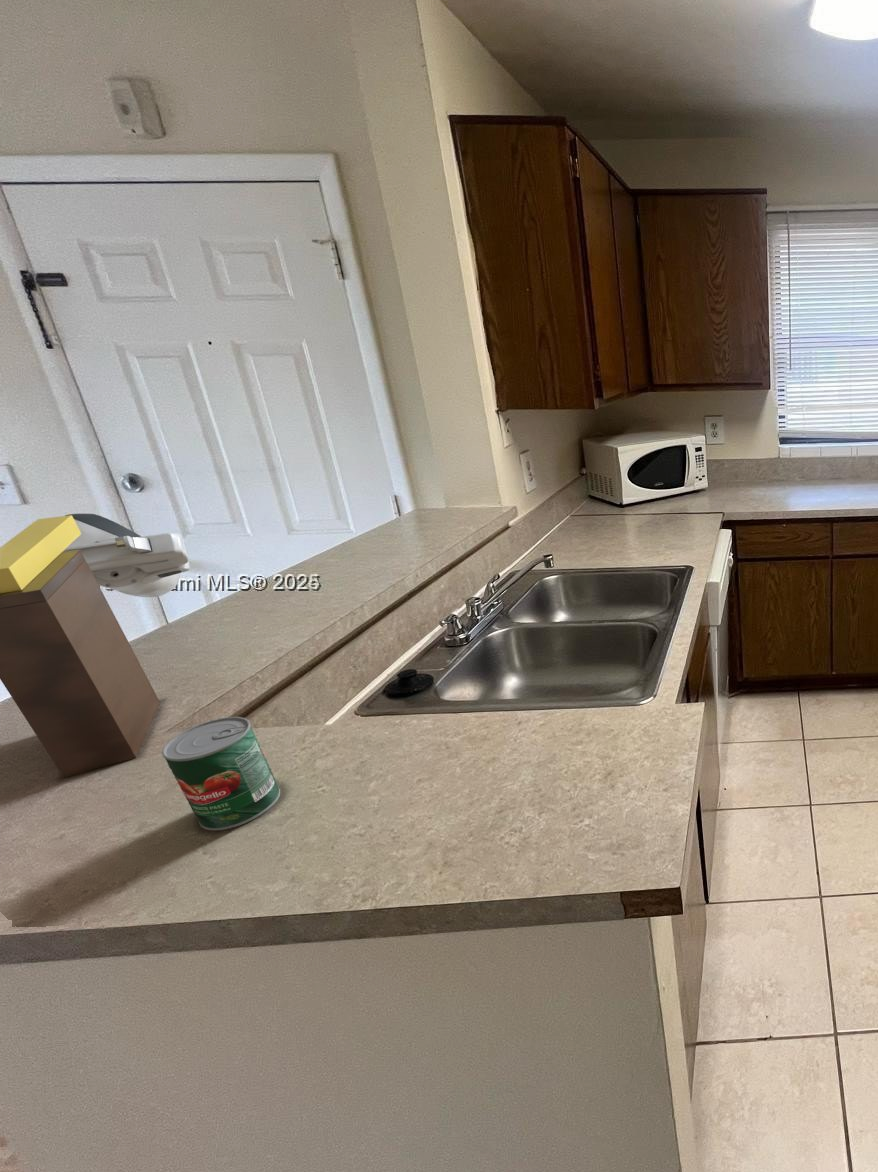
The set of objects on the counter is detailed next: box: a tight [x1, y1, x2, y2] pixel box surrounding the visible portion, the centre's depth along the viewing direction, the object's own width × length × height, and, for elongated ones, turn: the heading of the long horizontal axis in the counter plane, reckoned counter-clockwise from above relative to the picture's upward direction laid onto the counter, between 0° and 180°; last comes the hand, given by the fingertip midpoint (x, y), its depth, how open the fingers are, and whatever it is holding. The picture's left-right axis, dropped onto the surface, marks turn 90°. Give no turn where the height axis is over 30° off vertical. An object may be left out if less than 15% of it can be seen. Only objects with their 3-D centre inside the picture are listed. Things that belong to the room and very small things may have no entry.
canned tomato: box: [161, 716, 281, 832], centre depth 75 cm, size 8×8×11 cm
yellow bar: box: [0, 514, 81, 594], centre depth 81 cm, size 4×24×3 cm, turn 35°
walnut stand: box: [0, 550, 160, 778], centre depth 84 cm, size 7×16×26 cm, turn 35°
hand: (79, 547), depth 94 cm, fingers open, 8 cm apart
